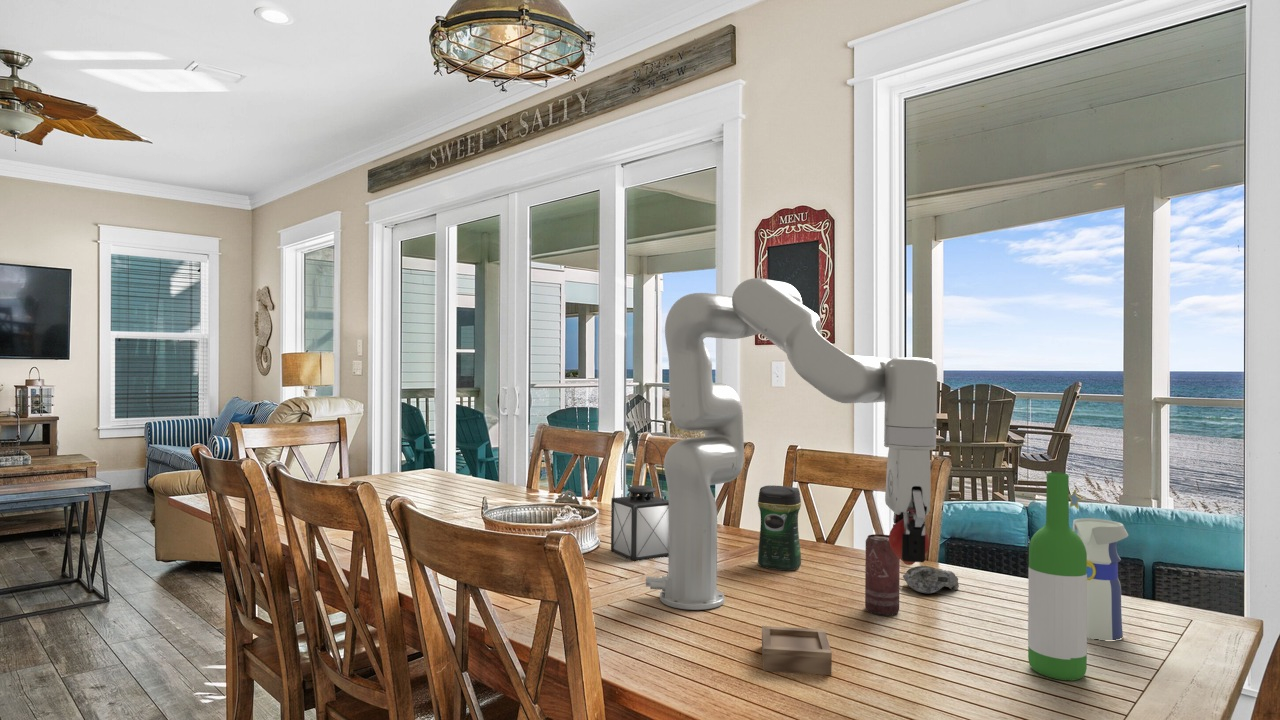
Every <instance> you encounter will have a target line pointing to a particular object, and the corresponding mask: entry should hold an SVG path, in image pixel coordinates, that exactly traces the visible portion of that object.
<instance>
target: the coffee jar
mask: <svg viewBox="0 0 1280 720" xmlns="http://www.w3.org/2000/svg"><path fill="white" fill-rule="evenodd" d="M799 489H800V488H798V487H792V486H787V485H764V486H761V487H760V489H759V491H758V499H757V506H758V508H759V509H758V510H759V514H760V528H759V530H760V531H759V539H758V540H759V541H758V551H757V564H758V565H759V566H760V567H762V568H766V569H769V568H770V569H771V570H776V569H777V571H792V570H798V569H799V568H800V567H801V564H802V554H801V544H800V536H799V533H800V532H799V512H800V509H801V507H802V500H801V493H800V490H799Z"/></svg>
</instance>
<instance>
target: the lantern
mask: <svg viewBox="0 0 1280 720" xmlns="http://www.w3.org/2000/svg"><path fill="white" fill-rule="evenodd" d="M637 441H646V442H648V443H651V444H652V445H654V446H655V448H656V449H657V450H658V453H659V455H660V460H661V471H662V473H661V474H662V476H661V478H662V481H661V483H662V494H661V495H662V497H658V496H654V493H655V492H656V491H657V489H656V488H655V487H653V486H651V485H632V486H630V487H629V488H627V492H630V493H629V494H630V495H629V496H623V495H621V497H619V496H618V497H611V511H610V513H611V515H610V516H611V517H610V519H611V523H610V525H611V527H610V552H611V553H614V554H617V555H618V556H620V557H623V558H625V559H628V560H630V561H631V562H633V561H634V562H637V561H638V560H639V561H645V560H651V559H653V558H654V559H659V558H660V557H661V558H667V557H668V551H669V501H668V499H666V498H663V497H664V462H663V458H662V454H661V451H660V449H659V448H658V446H657V445H656V444H655V443H654V442H652V441H651V440H648V439H635V440H633V441H631V442H629V443H628V444H627V445H626V446H625V447H624V449H623V452H622V454H621V455H622V456H621V460H620V483H621V489H623V473H622V472H623V471H622V469H623V458H624V453H625V451H626V449H627V448H628V446H629V445H631V444H632V443H634V442H637Z"/></svg>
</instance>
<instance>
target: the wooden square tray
mask: <svg viewBox="0 0 1280 720" xmlns="http://www.w3.org/2000/svg"><path fill="white" fill-rule="evenodd" d="M761 651H762V652H761V653H762V670H763V671H764V672H765V671H766V672H777V673H778V672H779V673H792V674H793V673H795V674H806V675H823V676H832V674H833V673H832V662H833V660H832V659H833V658H832V657H833V655H832V654H833V653H832V650H831V646H830V643H829V640H828V636H827V634H826V630H825V629H821V628H820V629H819V628H801V627H785V626H769V625H768V626H767V625H761Z"/></svg>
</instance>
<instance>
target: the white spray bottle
mask: <svg viewBox="0 0 1280 720" xmlns="http://www.w3.org/2000/svg"><path fill="white" fill-rule="evenodd" d="M1069 499H1070V501H1069V508H1072V507H1075V508H1076V510H1079V508H1080V507H1079V501H1081V500H1082V499H1083V498H1082V497H1080V496H1079V495H1078V494H1077V490H1076V489H1074V490H1073V492H1072V494H1070V493H1069ZM1072 522H1073V523H1072V530H1073V531H1074V532H1075V533H1076V534H1077V535H1078V536H1079V537H1080V538H1081V540H1082V542H1083V543H1084V546H1085V548H1086V553H1087V639H1090V638H1091V640H1094V639H1099V640H1098V641H1100V640H1116V639H1120V638H1122V637H1123V638H1124V634H1123V618H1122V617H1123V616H1122V615H1123V614H1122V586H1121V582H1120V580H1119V562H1121V561H1122V559H1121V557H1120V556H1119V554H1118V550H1117V545H1118V544H1117V543H1118V542H1120V541H1122V540H1124V539H1126V538H1128V537H1129V533H1128V531H1127V530H1126V528H1125V525H1124V524H1123V523H1122V522H1118V521H1114V520H1110V519H1109V520H1108V519H1103V518H1087V517H1086V518H1076V519H1073V521H1072Z"/></svg>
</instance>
